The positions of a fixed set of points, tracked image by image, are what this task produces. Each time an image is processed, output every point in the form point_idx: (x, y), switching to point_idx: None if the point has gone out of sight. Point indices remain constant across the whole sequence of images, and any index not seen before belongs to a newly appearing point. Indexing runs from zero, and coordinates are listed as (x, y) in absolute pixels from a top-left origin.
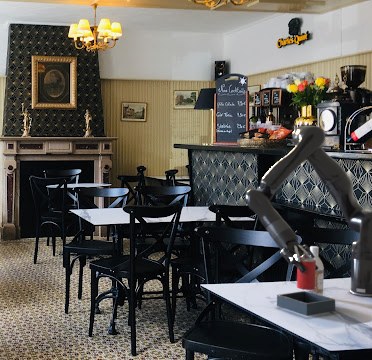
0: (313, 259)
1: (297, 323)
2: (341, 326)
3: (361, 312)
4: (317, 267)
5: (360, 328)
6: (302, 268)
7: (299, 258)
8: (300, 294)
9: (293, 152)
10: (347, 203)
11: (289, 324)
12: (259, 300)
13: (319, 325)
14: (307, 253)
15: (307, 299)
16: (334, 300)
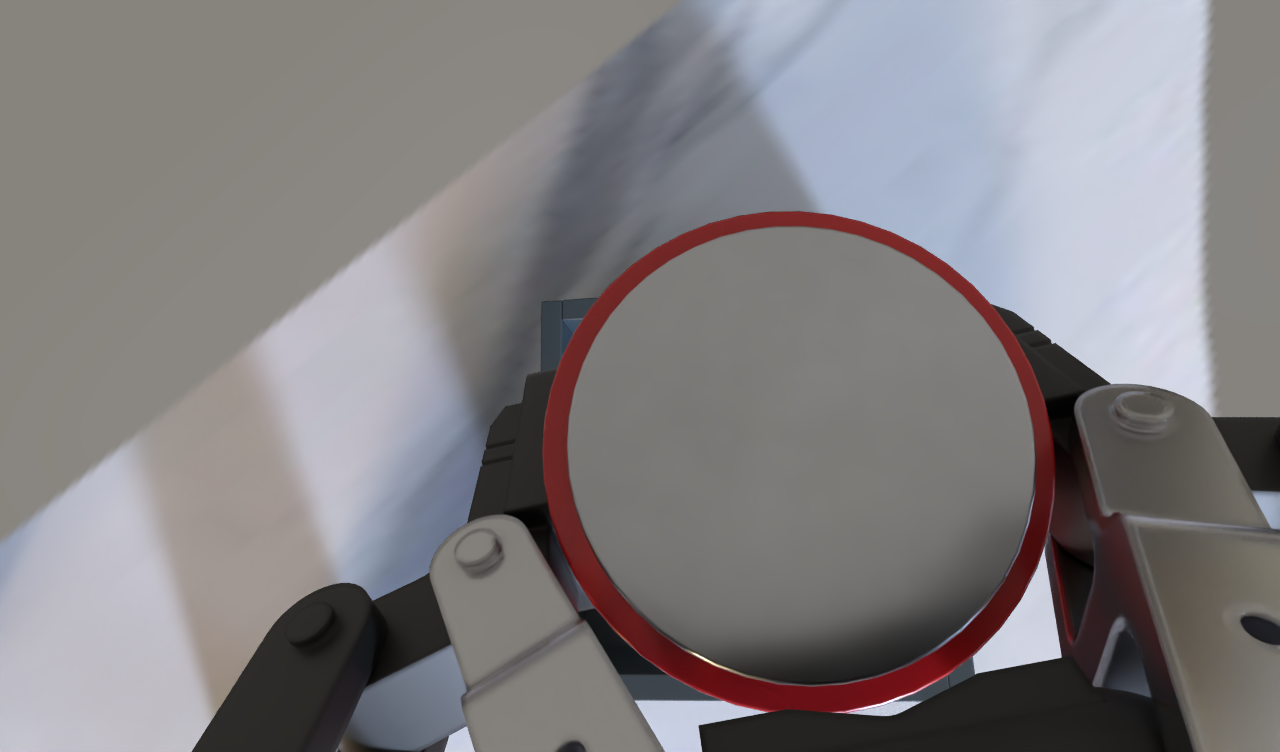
0: (650, 309)
1: (1049, 245)
2: (782, 96)
3: (369, 292)
4: (550, 370)
5: (697, 32)
6: (1021, 320)
7: (953, 608)
8: (629, 666)
9: None
10: None
11: (1132, 246)
12: None
13: (916, 157)
14: (542, 654)
15: (579, 614)
16: (553, 302)
